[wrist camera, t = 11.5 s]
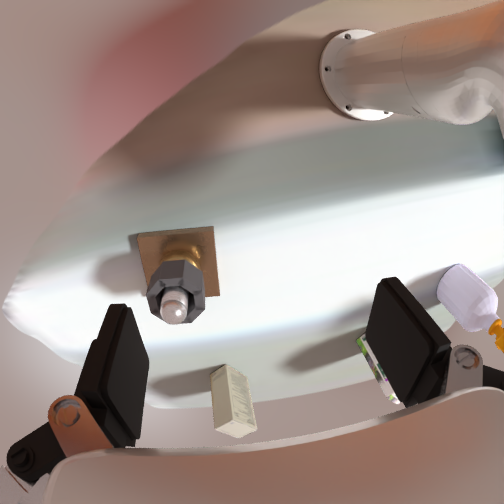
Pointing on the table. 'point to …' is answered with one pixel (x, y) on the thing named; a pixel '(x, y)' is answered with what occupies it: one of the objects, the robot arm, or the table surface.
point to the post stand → (179, 248)
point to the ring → (177, 276)
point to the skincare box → (232, 403)
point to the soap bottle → (471, 302)
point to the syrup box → (377, 370)
